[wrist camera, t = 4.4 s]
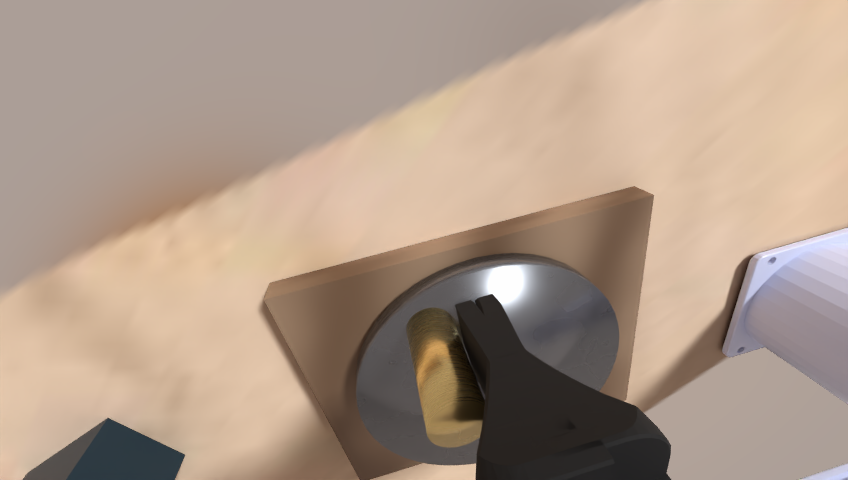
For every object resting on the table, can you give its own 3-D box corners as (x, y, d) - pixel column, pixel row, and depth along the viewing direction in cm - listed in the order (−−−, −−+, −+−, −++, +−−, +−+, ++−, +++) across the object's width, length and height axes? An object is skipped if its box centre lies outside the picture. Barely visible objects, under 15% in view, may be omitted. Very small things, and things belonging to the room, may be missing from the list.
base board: (634, 186, 16) (653, 195, 15) (613, 384, 23) (626, 399, 22) (269, 282, 15) (263, 299, 14) (360, 461, 22) (361, 482, 21)
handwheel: (641, 354, 20) (735, 450, 15) (460, 474, 22) (491, 591, 17) (528, 192, 14) (625, 264, 9) (295, 379, 16) (270, 519, 11)
